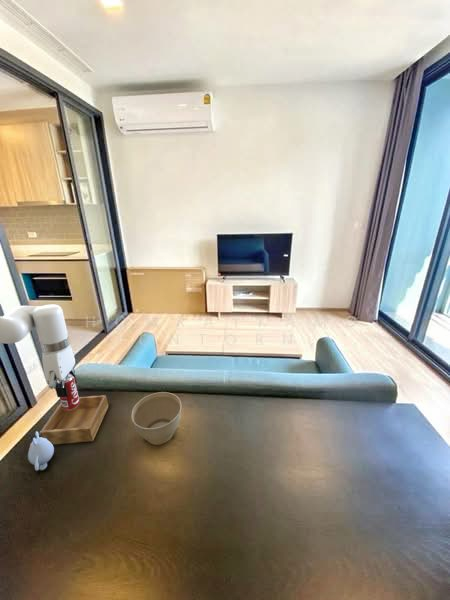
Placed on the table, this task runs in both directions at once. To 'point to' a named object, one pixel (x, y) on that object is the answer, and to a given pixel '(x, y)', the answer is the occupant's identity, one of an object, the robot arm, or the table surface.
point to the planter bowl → (157, 417)
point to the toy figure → (40, 452)
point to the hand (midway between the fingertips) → (67, 389)
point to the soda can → (70, 394)
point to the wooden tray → (76, 421)
